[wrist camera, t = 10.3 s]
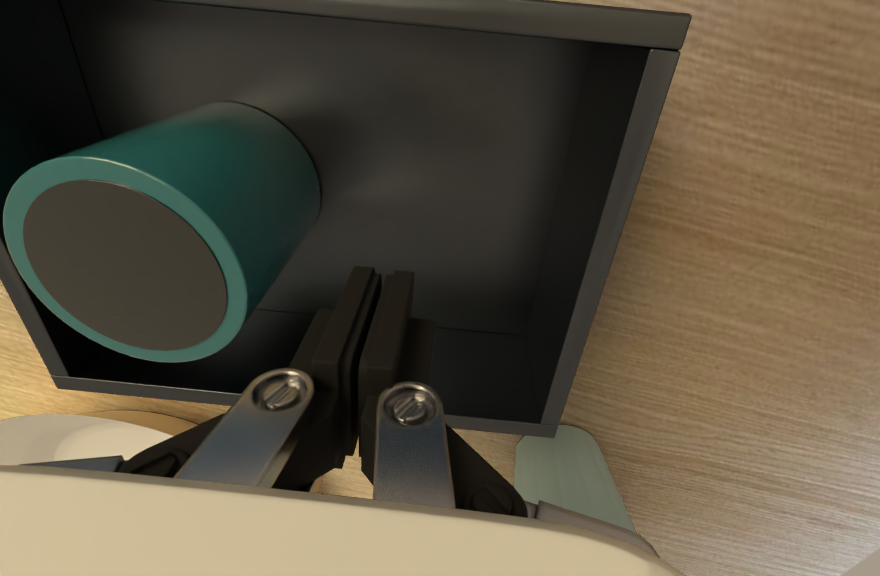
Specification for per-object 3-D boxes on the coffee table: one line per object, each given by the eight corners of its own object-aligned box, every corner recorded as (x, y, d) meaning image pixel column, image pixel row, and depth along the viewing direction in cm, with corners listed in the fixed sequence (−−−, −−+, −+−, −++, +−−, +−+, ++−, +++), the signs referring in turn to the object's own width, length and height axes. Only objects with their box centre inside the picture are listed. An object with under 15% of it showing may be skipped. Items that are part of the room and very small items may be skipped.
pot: (183, 246, 22) (55, 354, 15) (144, 93, 18) (-50, 144, 11) (325, 260, 22) (261, 373, 15) (315, 110, 18) (224, 170, 11)
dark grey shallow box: (41, -43, 17) (-185, -69, 11) (616, 12, 17) (694, 14, 11) (151, 301, 25) (56, 389, 19) (534, 339, 25) (554, 438, 19)
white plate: (388, 466, 32) (379, 515, 29) (271, 598, 44) (256, 643, 41) (7, 307, 26) (-55, 347, 23) (-7, 510, 38) (-49, 554, 35)
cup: (473, 451, 30) (476, 634, 21) (561, 392, 27) (607, 579, 18) (549, 499, 33) (580, 681, 24) (638, 450, 29) (712, 640, 20)
